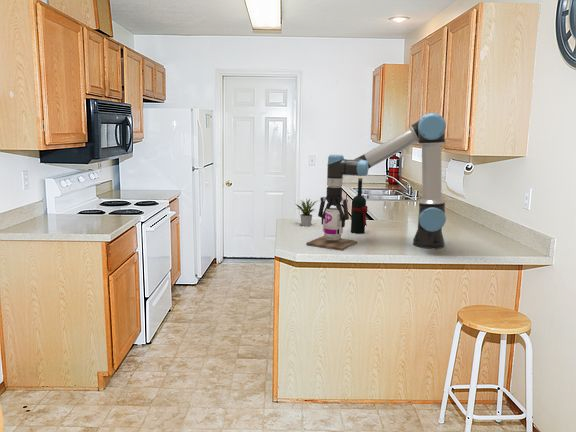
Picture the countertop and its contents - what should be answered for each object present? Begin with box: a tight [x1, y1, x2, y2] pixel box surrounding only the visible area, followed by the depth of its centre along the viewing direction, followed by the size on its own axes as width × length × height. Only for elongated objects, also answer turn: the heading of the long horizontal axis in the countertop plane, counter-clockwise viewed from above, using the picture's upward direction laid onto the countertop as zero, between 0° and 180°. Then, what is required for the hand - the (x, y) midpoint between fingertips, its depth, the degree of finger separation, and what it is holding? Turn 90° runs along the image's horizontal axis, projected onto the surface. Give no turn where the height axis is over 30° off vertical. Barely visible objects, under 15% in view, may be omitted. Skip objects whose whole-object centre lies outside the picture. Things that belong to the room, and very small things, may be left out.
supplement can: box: [323, 207, 342, 240], centre depth 253 cm, size 8×8×15 cm
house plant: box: [294, 198, 318, 227], centre depth 299 cm, size 14×14×16 cm
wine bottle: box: [350, 177, 368, 235], centre depth 280 cm, size 8×10×30 cm
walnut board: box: [306, 235, 358, 252], centre depth 255 cm, size 19×19×1 cm
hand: (332, 232), depth 254 cm, fingers closed on supplement can, 8 cm apart
